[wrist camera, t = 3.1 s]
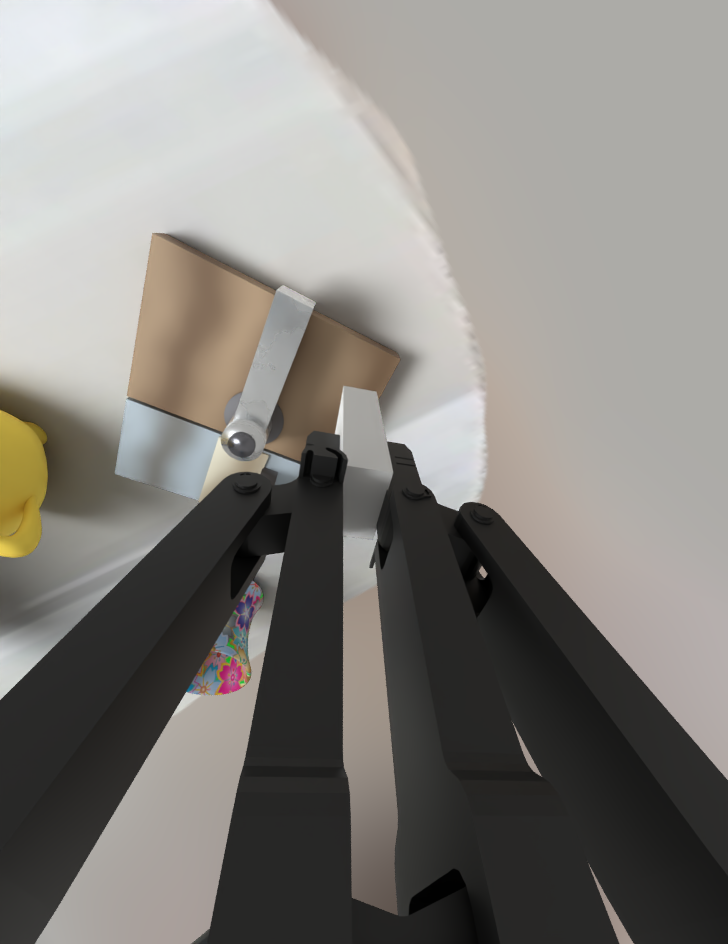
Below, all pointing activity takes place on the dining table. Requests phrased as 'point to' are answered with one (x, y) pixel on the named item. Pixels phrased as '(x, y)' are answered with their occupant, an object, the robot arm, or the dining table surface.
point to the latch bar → (267, 375)
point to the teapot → (21, 485)
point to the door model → (226, 375)
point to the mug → (230, 651)
